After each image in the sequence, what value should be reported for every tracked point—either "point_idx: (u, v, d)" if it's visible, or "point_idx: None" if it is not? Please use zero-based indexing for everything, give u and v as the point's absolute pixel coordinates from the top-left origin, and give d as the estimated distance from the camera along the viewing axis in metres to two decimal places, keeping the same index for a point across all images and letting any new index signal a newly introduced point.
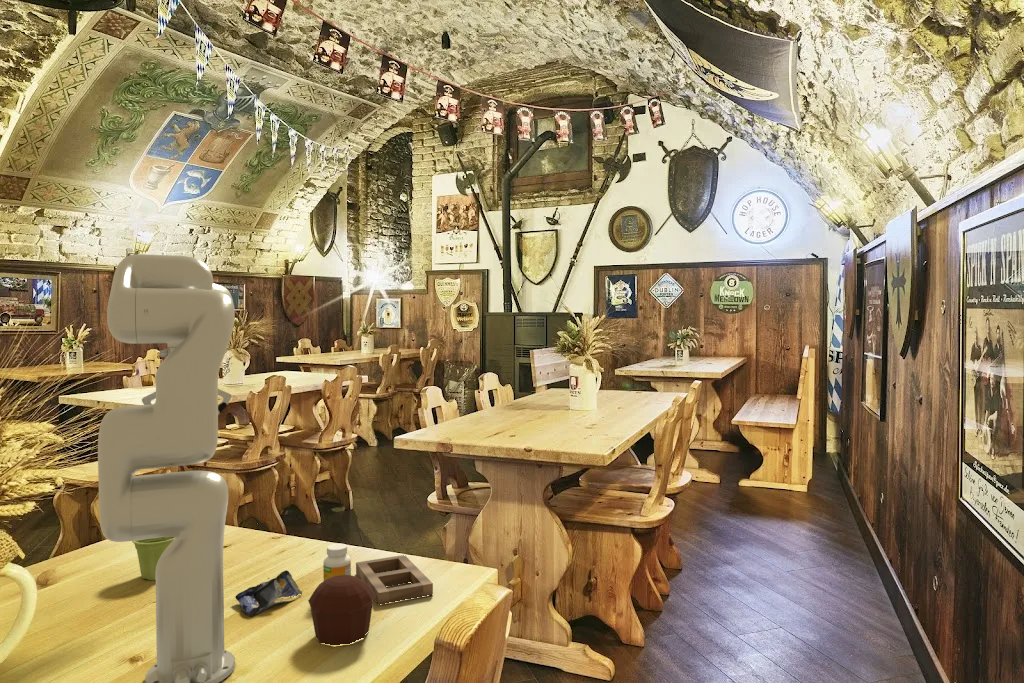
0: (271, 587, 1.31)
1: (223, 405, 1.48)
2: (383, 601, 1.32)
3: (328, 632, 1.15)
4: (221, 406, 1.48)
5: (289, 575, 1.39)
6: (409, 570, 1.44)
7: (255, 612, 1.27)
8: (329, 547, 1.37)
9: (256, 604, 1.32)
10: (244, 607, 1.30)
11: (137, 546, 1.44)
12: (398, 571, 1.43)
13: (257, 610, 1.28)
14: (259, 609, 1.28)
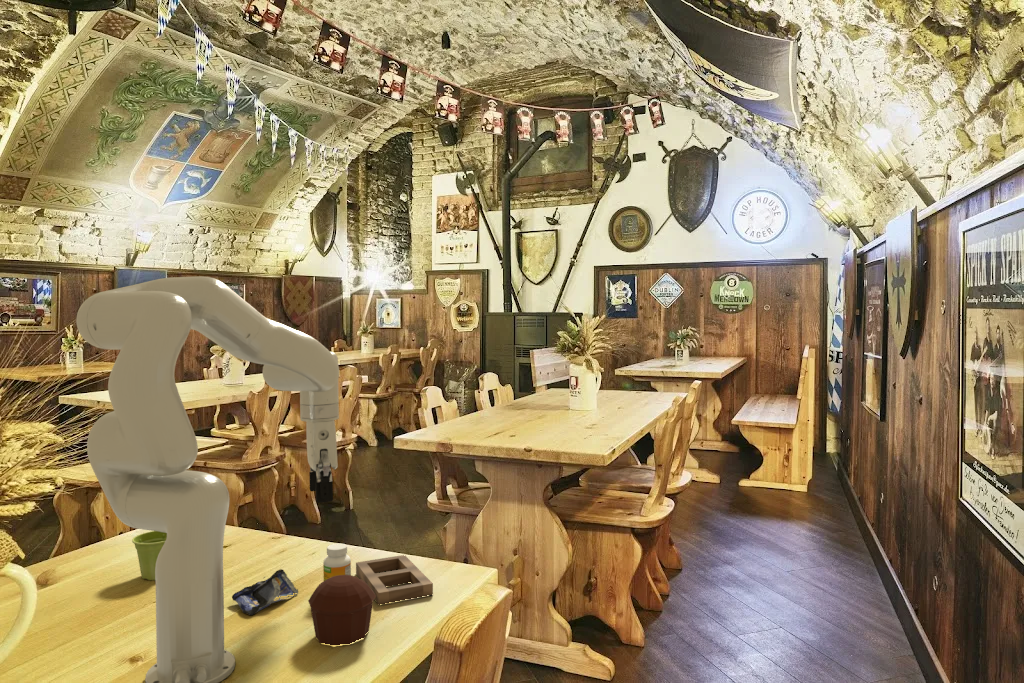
0: (269, 586, 1.32)
1: None
2: (383, 601, 1.32)
3: (328, 632, 1.15)
4: None
5: (284, 574, 1.39)
6: (409, 570, 1.44)
7: (255, 611, 1.28)
8: (329, 547, 1.37)
9: (253, 603, 1.32)
10: (242, 606, 1.30)
11: (137, 546, 1.44)
12: (398, 571, 1.43)
13: (257, 609, 1.28)
14: (259, 608, 1.28)
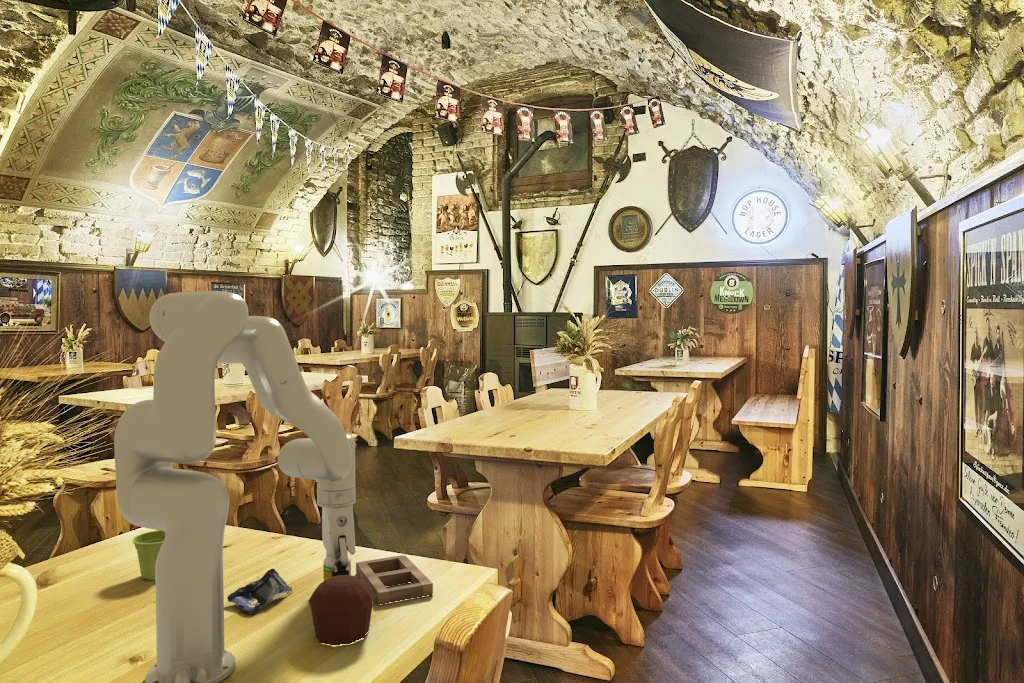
0: (267, 585, 1.32)
1: None
2: (383, 601, 1.32)
3: (328, 632, 1.15)
4: None
5: (276, 573, 1.40)
6: (409, 570, 1.44)
7: (257, 610, 1.28)
8: None
9: (250, 603, 1.32)
10: (240, 607, 1.30)
11: (137, 546, 1.44)
12: (398, 571, 1.43)
13: (258, 608, 1.29)
14: (259, 607, 1.29)
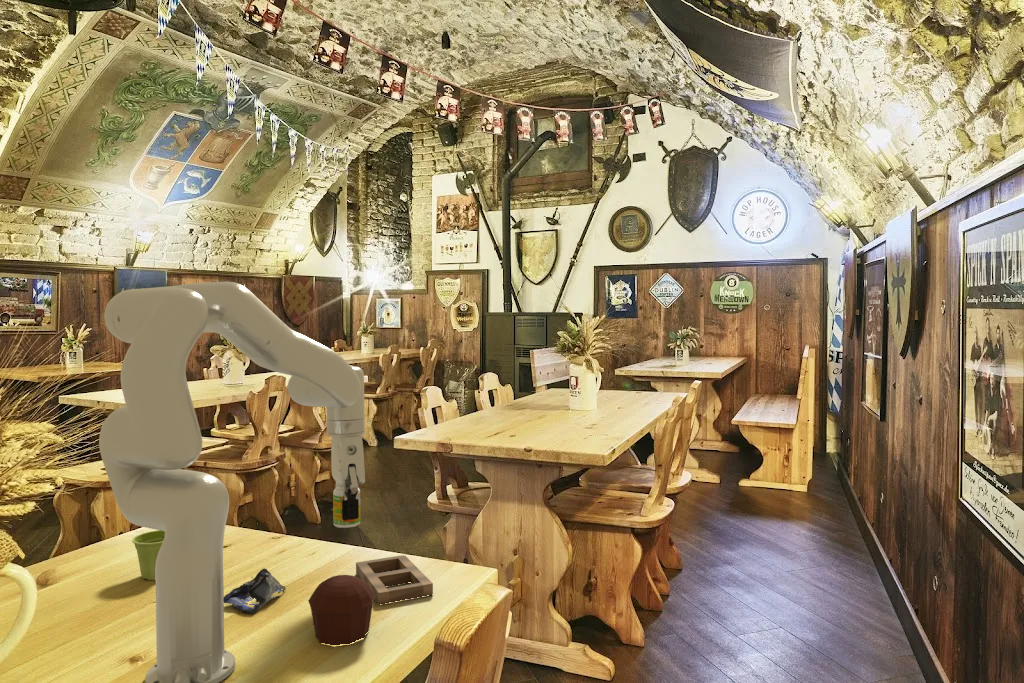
0: (264, 584, 1.33)
1: None
2: (383, 601, 1.32)
3: (328, 632, 1.15)
4: None
5: (268, 572, 1.40)
6: (409, 570, 1.44)
7: (257, 609, 1.29)
8: None
9: (247, 603, 1.32)
10: (238, 607, 1.30)
11: (137, 546, 1.44)
12: (398, 571, 1.43)
13: (258, 607, 1.29)
14: (259, 606, 1.30)
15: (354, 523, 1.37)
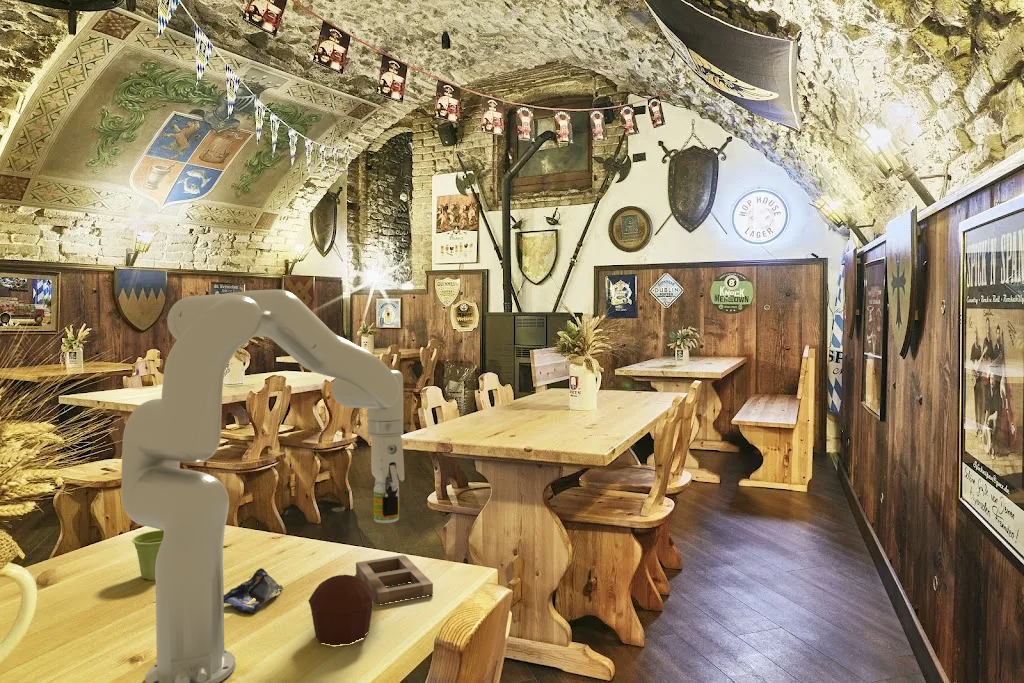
0: (263, 584, 1.33)
1: None
2: (383, 601, 1.32)
3: (328, 632, 1.15)
4: None
5: (265, 572, 1.40)
6: (409, 570, 1.44)
7: (257, 609, 1.29)
8: None
9: (245, 603, 1.32)
10: (237, 607, 1.30)
11: (137, 546, 1.44)
12: (398, 571, 1.43)
13: (258, 606, 1.29)
14: (259, 605, 1.30)
15: (394, 519, 1.44)
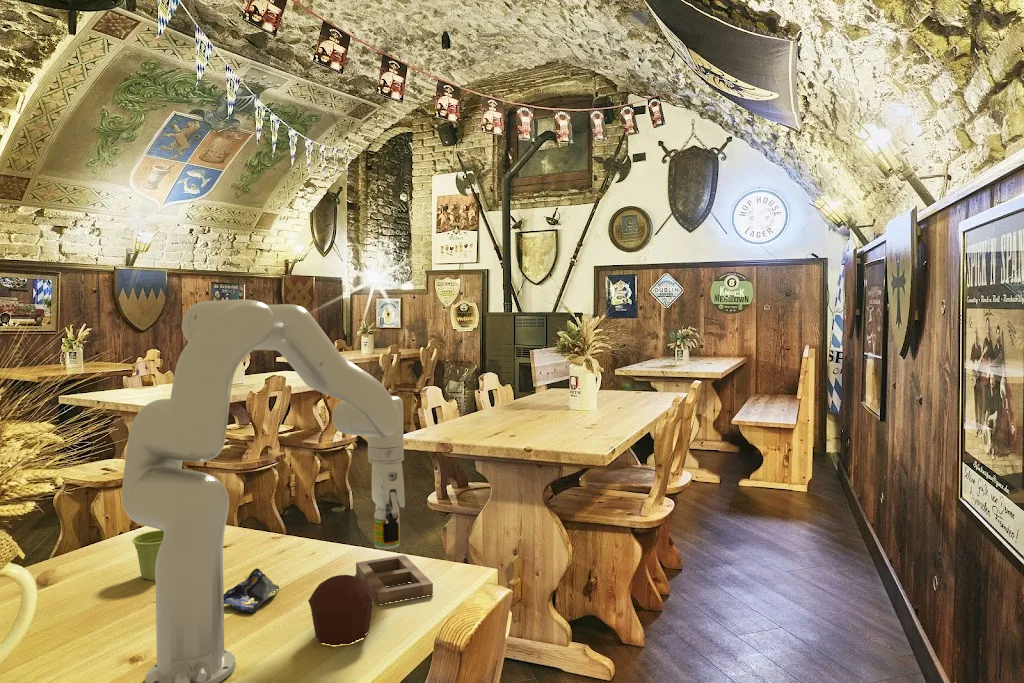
0: (261, 583, 1.33)
1: None
2: (383, 601, 1.32)
3: (328, 632, 1.15)
4: None
5: (260, 572, 1.40)
6: (409, 570, 1.44)
7: (256, 608, 1.29)
8: None
9: (243, 603, 1.32)
10: (236, 608, 1.30)
11: (137, 546, 1.44)
12: (398, 571, 1.43)
13: (257, 606, 1.29)
14: (258, 605, 1.30)
15: (394, 545, 1.45)
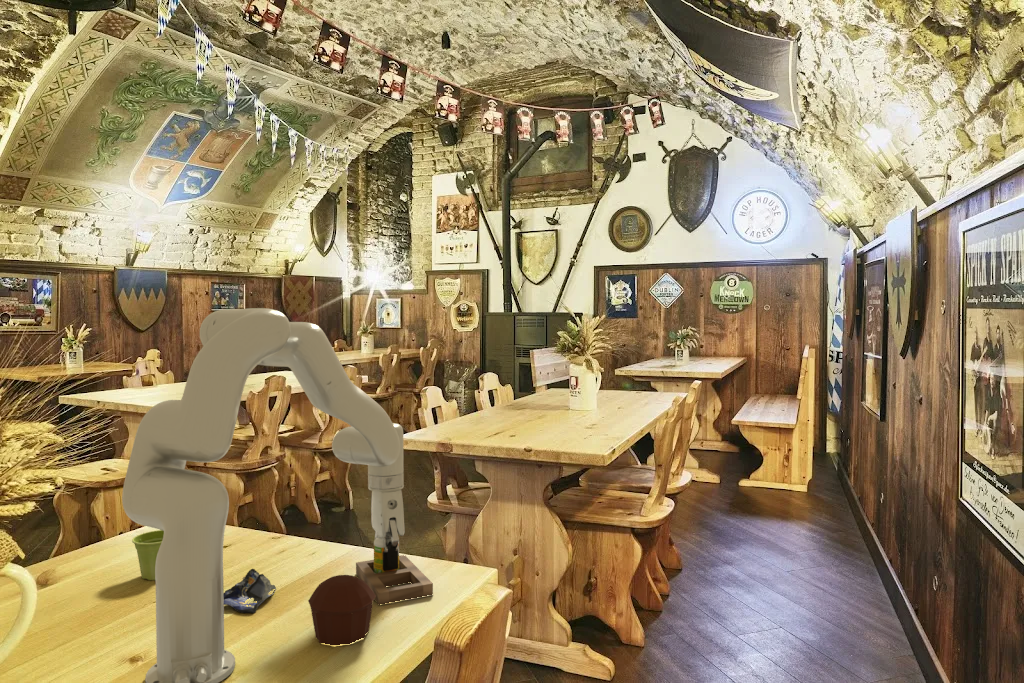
0: (260, 583, 1.33)
1: None
2: (383, 601, 1.32)
3: (328, 632, 1.15)
4: None
5: (256, 572, 1.40)
6: (409, 570, 1.44)
7: (256, 608, 1.29)
8: None
9: (241, 604, 1.32)
10: (235, 608, 1.30)
11: (137, 546, 1.44)
12: (398, 571, 1.43)
13: (257, 606, 1.29)
14: (257, 605, 1.30)
15: None
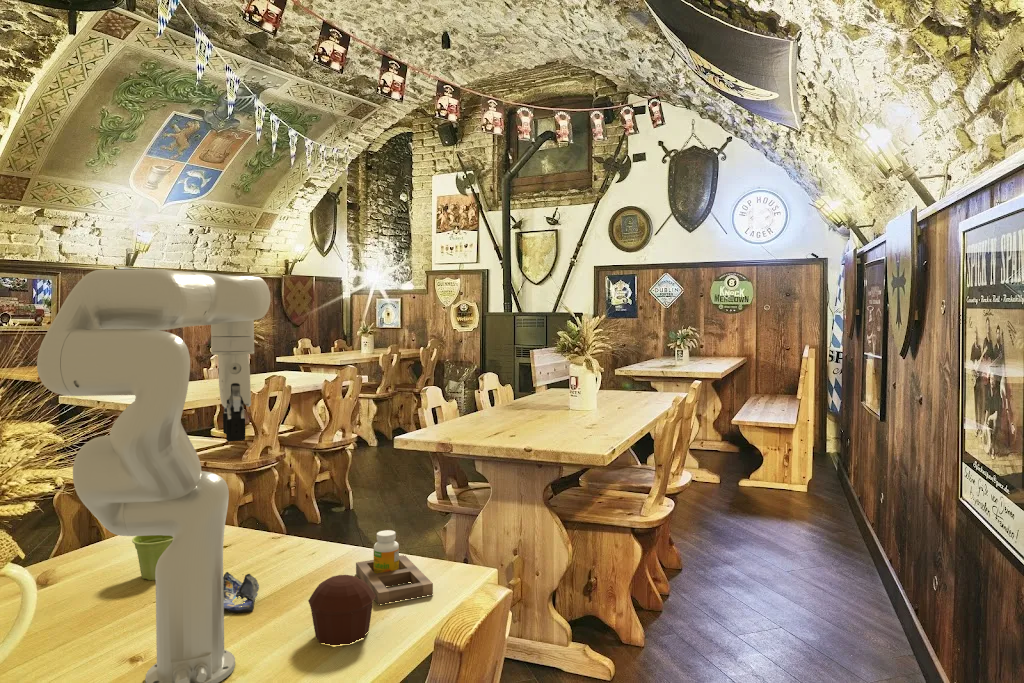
0: (248, 583, 1.33)
1: None
2: (383, 601, 1.32)
3: (328, 632, 1.15)
4: None
5: (230, 575, 1.38)
6: (409, 570, 1.44)
7: None
8: (379, 533, 1.45)
9: (230, 606, 1.31)
10: (229, 610, 1.29)
11: (137, 546, 1.44)
12: (398, 571, 1.43)
13: (253, 604, 1.30)
14: None
15: None
